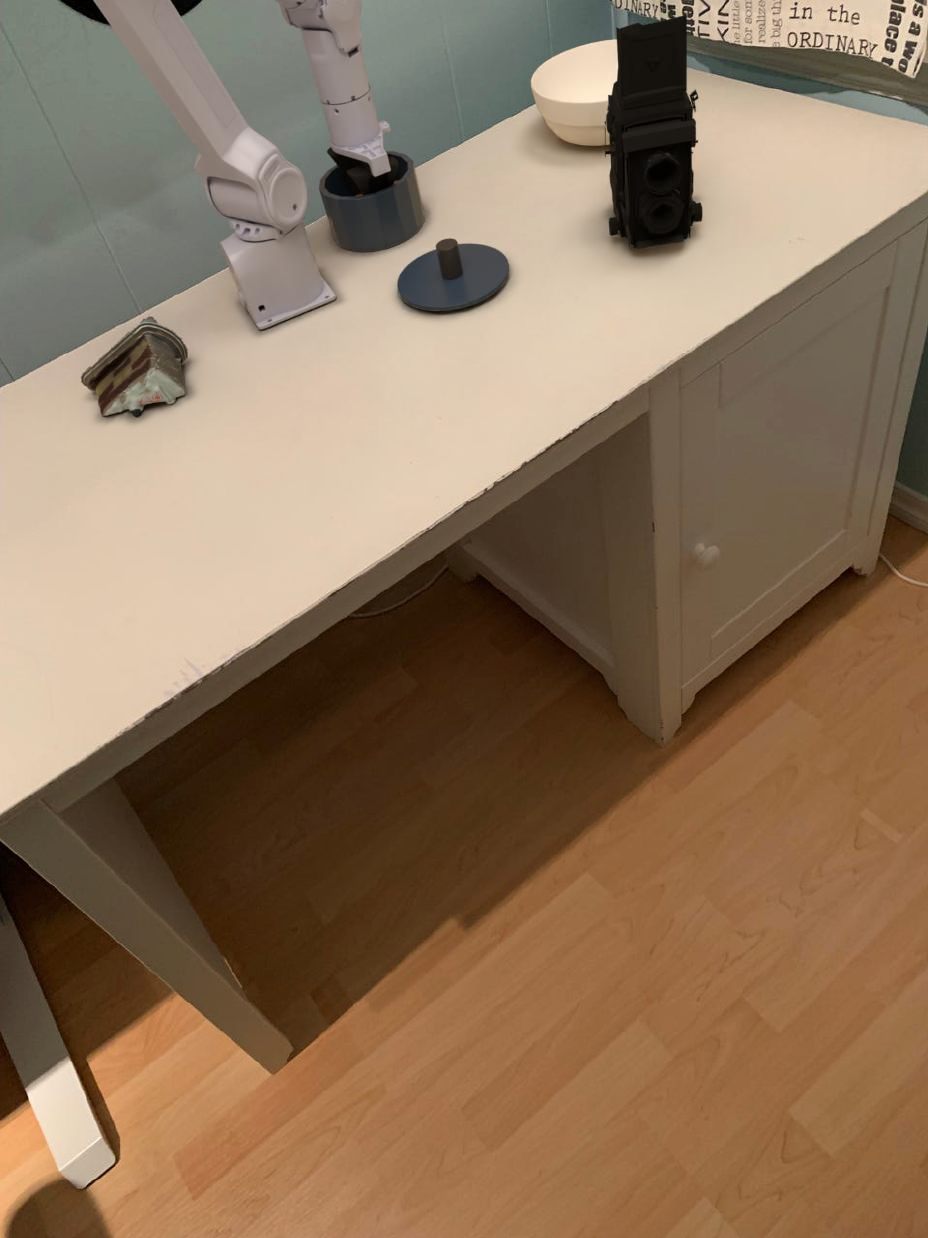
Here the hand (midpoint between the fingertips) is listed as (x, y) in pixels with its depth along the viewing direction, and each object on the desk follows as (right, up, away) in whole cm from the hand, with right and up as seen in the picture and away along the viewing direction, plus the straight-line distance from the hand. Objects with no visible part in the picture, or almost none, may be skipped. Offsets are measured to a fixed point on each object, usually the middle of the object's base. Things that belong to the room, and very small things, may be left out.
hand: (375, 213), depth 107 cm
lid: (+10, -12, -10) cm, 18 cm away
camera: (+32, -7, -10) cm, 34 cm away
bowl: (+29, +14, +7) cm, 33 cm away
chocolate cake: (-24, -26, -13) cm, 37 cm away
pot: (0, -1, +1) cm, 2 cm away
